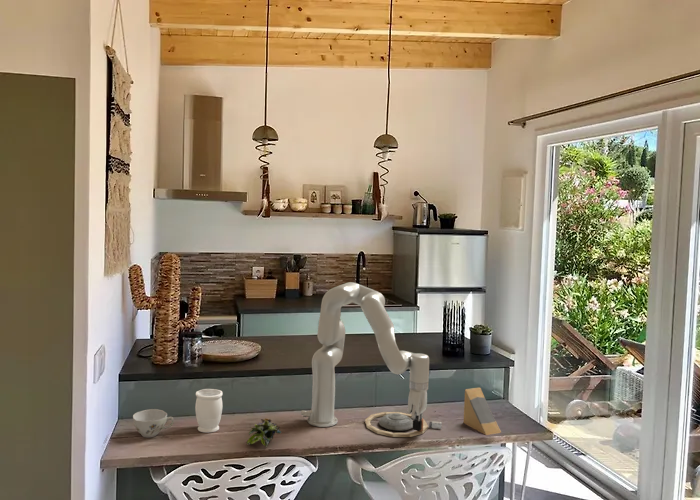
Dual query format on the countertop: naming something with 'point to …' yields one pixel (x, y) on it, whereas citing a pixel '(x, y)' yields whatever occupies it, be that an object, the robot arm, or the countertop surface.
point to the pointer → (435, 425)
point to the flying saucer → (396, 422)
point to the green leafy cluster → (263, 432)
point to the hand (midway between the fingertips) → (417, 429)
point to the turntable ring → (374, 429)
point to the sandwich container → (479, 412)
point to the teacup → (151, 422)
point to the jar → (208, 409)
